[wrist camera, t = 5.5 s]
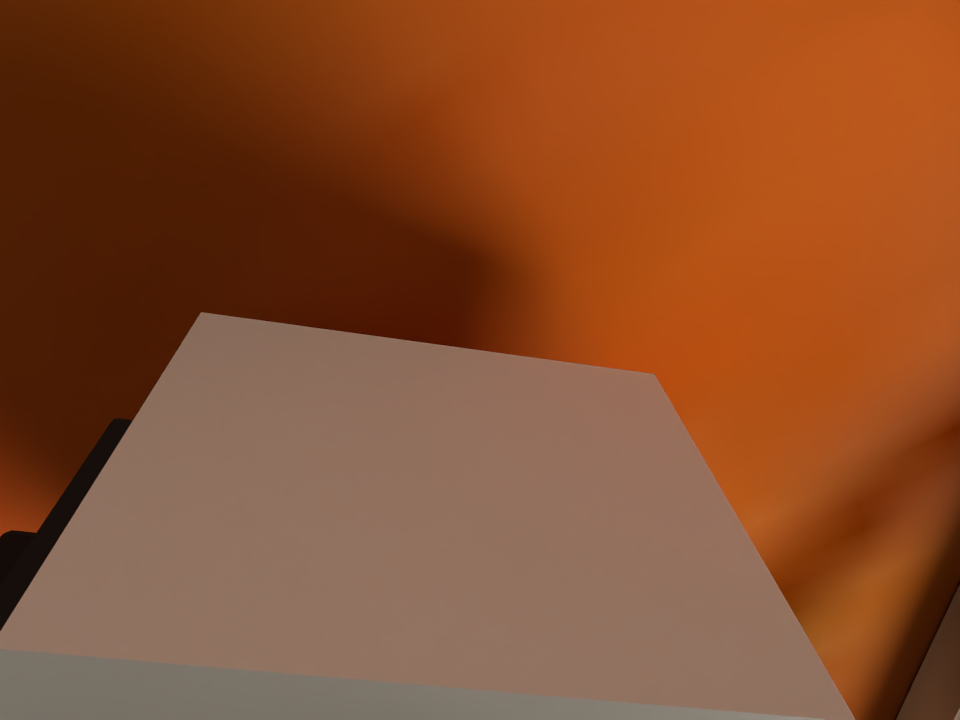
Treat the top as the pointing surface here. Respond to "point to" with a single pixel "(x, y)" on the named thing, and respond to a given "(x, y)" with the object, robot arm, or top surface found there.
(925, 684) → the track
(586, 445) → the block
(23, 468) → the top surface
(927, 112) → the top surface
